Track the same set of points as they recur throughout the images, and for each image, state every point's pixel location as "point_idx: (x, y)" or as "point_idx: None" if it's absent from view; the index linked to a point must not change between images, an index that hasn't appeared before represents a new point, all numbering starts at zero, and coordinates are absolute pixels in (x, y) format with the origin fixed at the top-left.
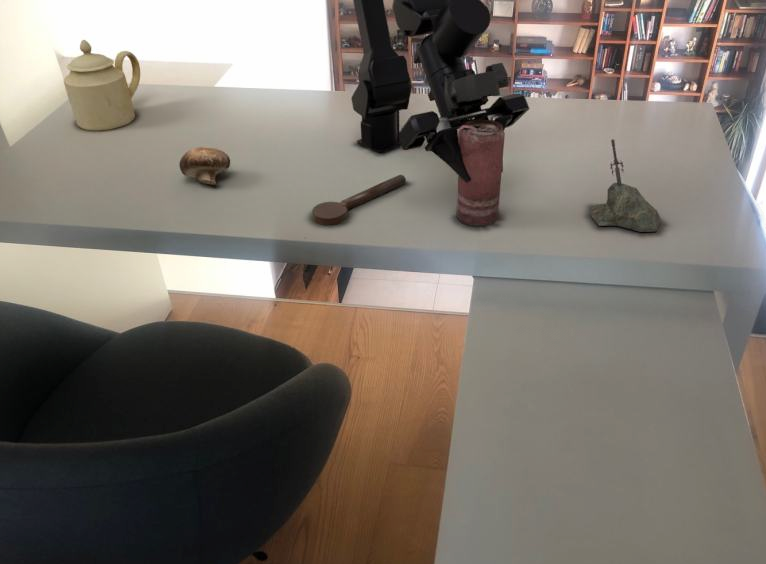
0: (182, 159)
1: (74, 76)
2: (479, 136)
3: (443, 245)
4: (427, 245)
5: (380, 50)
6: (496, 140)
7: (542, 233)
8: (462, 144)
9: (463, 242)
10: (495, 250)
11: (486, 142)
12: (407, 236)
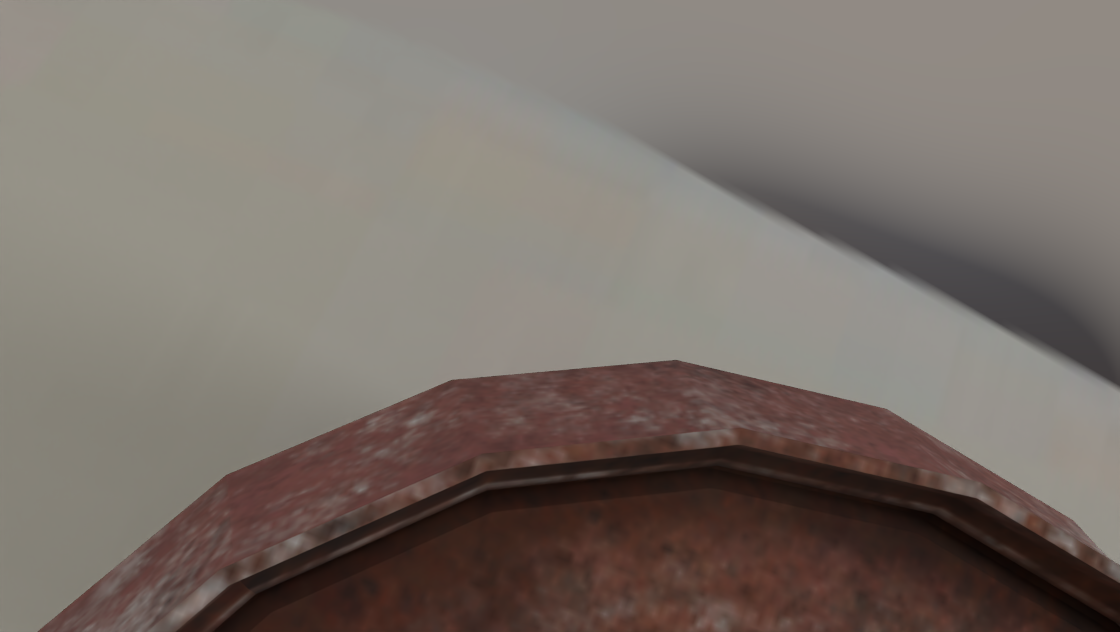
0: None
1: None
2: (1068, 570)
3: (877, 326)
4: (983, 365)
5: None
6: (450, 394)
7: (94, 222)
8: None
9: (729, 314)
10: (554, 134)
11: (787, 397)
12: (1089, 537)
